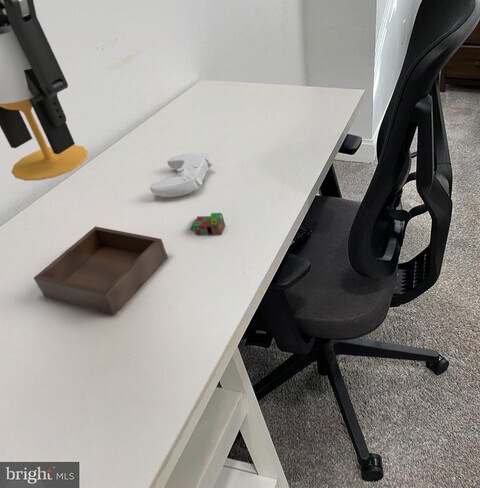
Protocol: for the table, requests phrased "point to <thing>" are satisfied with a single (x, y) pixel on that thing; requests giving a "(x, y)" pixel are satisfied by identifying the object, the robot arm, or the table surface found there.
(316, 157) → the table surface
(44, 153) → the cup
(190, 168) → the game controller
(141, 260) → the holder
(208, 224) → the block
